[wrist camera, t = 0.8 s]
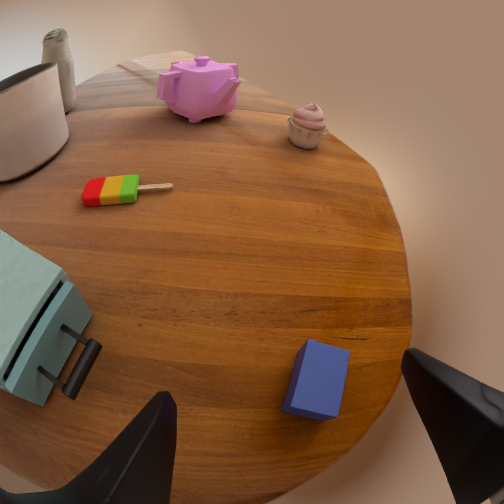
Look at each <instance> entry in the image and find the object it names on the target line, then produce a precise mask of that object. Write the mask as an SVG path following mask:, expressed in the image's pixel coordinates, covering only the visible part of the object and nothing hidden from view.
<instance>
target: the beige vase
mask: <svg viewBox="0 0 504 504" xmlns="http://www.w3.org/2000/svg"><path fill="white" fill-rule="evenodd" d="M47 62H57V68H58V76H59V84H60V90H61V96H62V102H63V107H64V112H65V113H66V112H68V111H70V110H71V109H72V108H73V106H74V104H75V101H76V87H75V77H74V63H73V58H72V55H71V52H70V49H69V47H68V41H67V32H66V31H65V30H64V29H61V28H60V29H56V30H53V31H51V32H49V33H48V34H46V36H45V37H44V40H43V55H42V62H41V64H43V63H47Z"/></svg>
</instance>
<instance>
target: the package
mask: <svg viewBox="0 0 504 504" xmlns="http://www.w3.org/2000/svg"><path fill="white" fill-rule="evenodd" d="M349 355H350V351H348V350H344V349H341V348H337V347H334V346H330V345H327V344H323V343H320V342H316V341H313V340H310V339H308V340H307V341H306V343H305V344H304V345H303V346H302V348H301V349H300V350H299V351H298V354H297V358H296V362H295V365H294V369H293V373H292V376H291V380H290V383H289V387H288V390H287V394H286V397H285V400H284V404H283V407H282V410H281V411H282V412H286V413H289V414H293V415H297V416H301V417H306V418H310V419H314V420H319V421H326V420H330V419H333V418H336V417H338V412H339V408H340V403H341V399H342V394H343V389H344V384H345V379H346V373H347V367H348V362H349Z"/></svg>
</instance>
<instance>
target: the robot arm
mask: <svg viewBox="0 0 504 504" xmlns="http://www.w3.org/2000/svg"><path fill="white" fill-rule="evenodd" d="M401 370H402V373H403V376H404V378H405V381H406V384H407V387H408V389H409V392H410V395H411V398H412V400H413V403H414V405H415V407H416V409H417V411H418V413H419V415H420V417H421V419H422V422H423V424H424V426H425V428H426V430H427V432H428V435H429V437H430V439H431V441H432V444H433V446H434V448H435V451H436V453H437V455H438V458H439V460H440V462H441V465H442V467H443V470H444V472H445V475H446V477H447V480H448V483H449V485H450V488H451V491H452V493H453V496H454V499H455V501H456V504H481V503H482V502H484V501H485V500H487V499H488V498H489V499H490V501H491V503H492V504H504V392H501V391H499V390H497V389H494V388H492V387H490V386H488V385H486V384H484V383H482V382H480V381H478V380H476V379H474V378H472V377H470V376H468V375H466V374H465V373H463V372H460V371H459V370H457V369H455V368H453V367H451V366H449V365H447V364H445V363H443V362H441V361H439V360H437V359H436V358H434V357H432V356H430V355H428V354H426V353H424V352H422V351H420V350H418V349H416V348H410V349H407V350H405V352H404V355H403V359H402V363H401ZM176 439H177V406H176V404H175V402H174V400H173V398H172V396H171V394H170V393H169V392H168V391H160V392H157V393H156V394H155V396H154V397H153V398H152V399H151V400H150V401H149V402H148V403H147V404H146V406H145V407H144V408H143V409H142V410H141V411H140V412H139V413H138V414H137V416H136V417H135V418H134V419H133V420H132V421H131V422H130V423H129V424H128V425H127V427H126V428H125V429H124V430H123V431H122V432H121V433H120V434H119V435H118V436H117V437H116V439H115V440H114V441H113V442H112V443H111V444H110V445H109V446H108V447H107V448H106V450H104V451H103V452H102V454H101V455H100V456H99V457H98V458H97V459H96V460H95V461H94V462H93V463H92V464H90V465H89V466H88V467H87V468H86V469H85V470H84V471H82V472H81V473H80V474H79V475H78V476H76V477H75V478H74V479H73V480H72V481H70V482H69V483H68V484H67V485H65V486H64V487H62V488H60V489H57V490H53V491H45V492H36V493H24V494H23V493H22V494H14V493H9V492H6V491H5V490H3V489H2V488H0V504H169V503H170V493H171V484H172V475H173V466H174V458H175V450H176Z"/></svg>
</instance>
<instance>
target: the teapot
mask: <svg viewBox="0 0 504 504" xmlns="http://www.w3.org/2000/svg"><path fill="white" fill-rule="evenodd" d="M194 59H195V61H188V62H182V63H180V62H174V63H172V66H171V68H170V71H169V72H166V73H161V74H160V76H159V83H158V90H157V98H159V99H161V100H164V101H165V102H166V104H167V106H168V107H169V108H170V109H171V110H172V111H173V113H176V114H180V115H182V116H185V117H187V118H189V122H192V123H197V122H200V121H201V119H204V118H209V117H213V116H223V115H225V113H228V112H230V111H232V110H233V108H234V107H235V105H236V102H237V87H238V85H239V84H240V82H241V81H240V80H238V65H237V64H234V63H227V64H222V63H218V62H213V61H209V59H210V58H209V57H206V56H198V57H195V58H194Z"/></svg>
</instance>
